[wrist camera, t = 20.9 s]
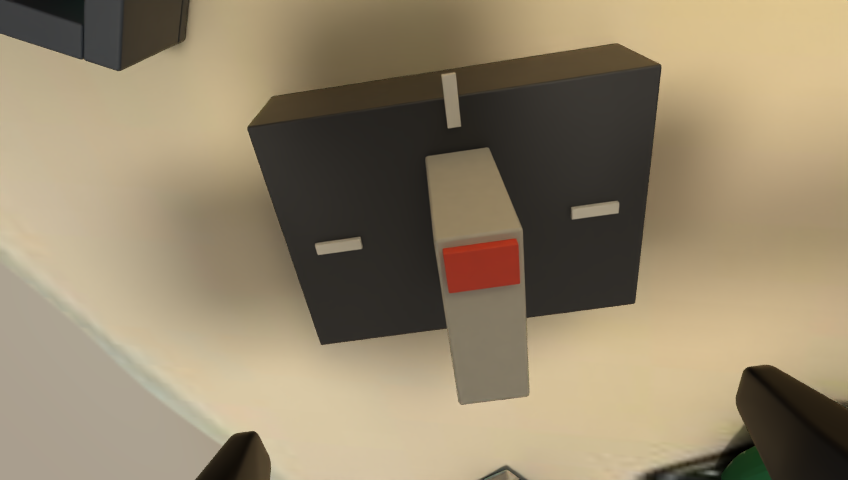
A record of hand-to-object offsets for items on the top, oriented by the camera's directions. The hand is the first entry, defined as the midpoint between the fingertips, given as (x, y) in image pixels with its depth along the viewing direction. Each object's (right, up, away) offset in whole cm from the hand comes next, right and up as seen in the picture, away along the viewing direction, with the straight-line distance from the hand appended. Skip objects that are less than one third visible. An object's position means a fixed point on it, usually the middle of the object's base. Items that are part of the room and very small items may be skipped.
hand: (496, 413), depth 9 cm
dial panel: (0, +5, +8) cm, 10 cm away
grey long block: (0, +4, +6) cm, 7 cm away
